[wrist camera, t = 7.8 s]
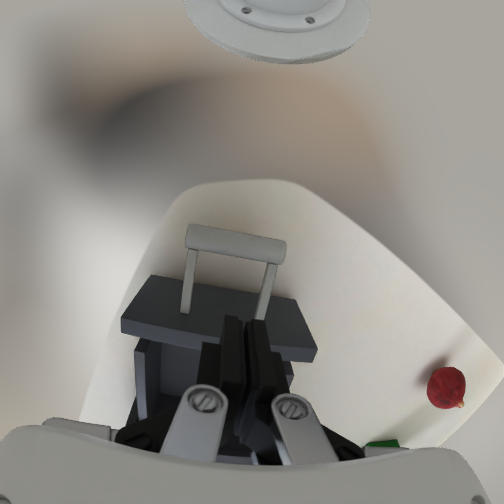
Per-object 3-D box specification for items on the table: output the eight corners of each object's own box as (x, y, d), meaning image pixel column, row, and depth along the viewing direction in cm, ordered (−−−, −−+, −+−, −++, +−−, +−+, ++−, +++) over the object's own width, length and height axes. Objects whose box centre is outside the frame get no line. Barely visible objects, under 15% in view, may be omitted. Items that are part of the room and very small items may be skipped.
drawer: (158, 204, 21) (124, 221, 14) (313, 233, 22) (348, 263, 15) (148, 387, 26) (132, 437, 19) (261, 404, 28) (267, 457, 20)
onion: (411, 389, 31) (436, 426, 23) (428, 357, 29) (460, 394, 21) (437, 384, 31) (462, 417, 24) (454, 354, 30) (484, 385, 22)
